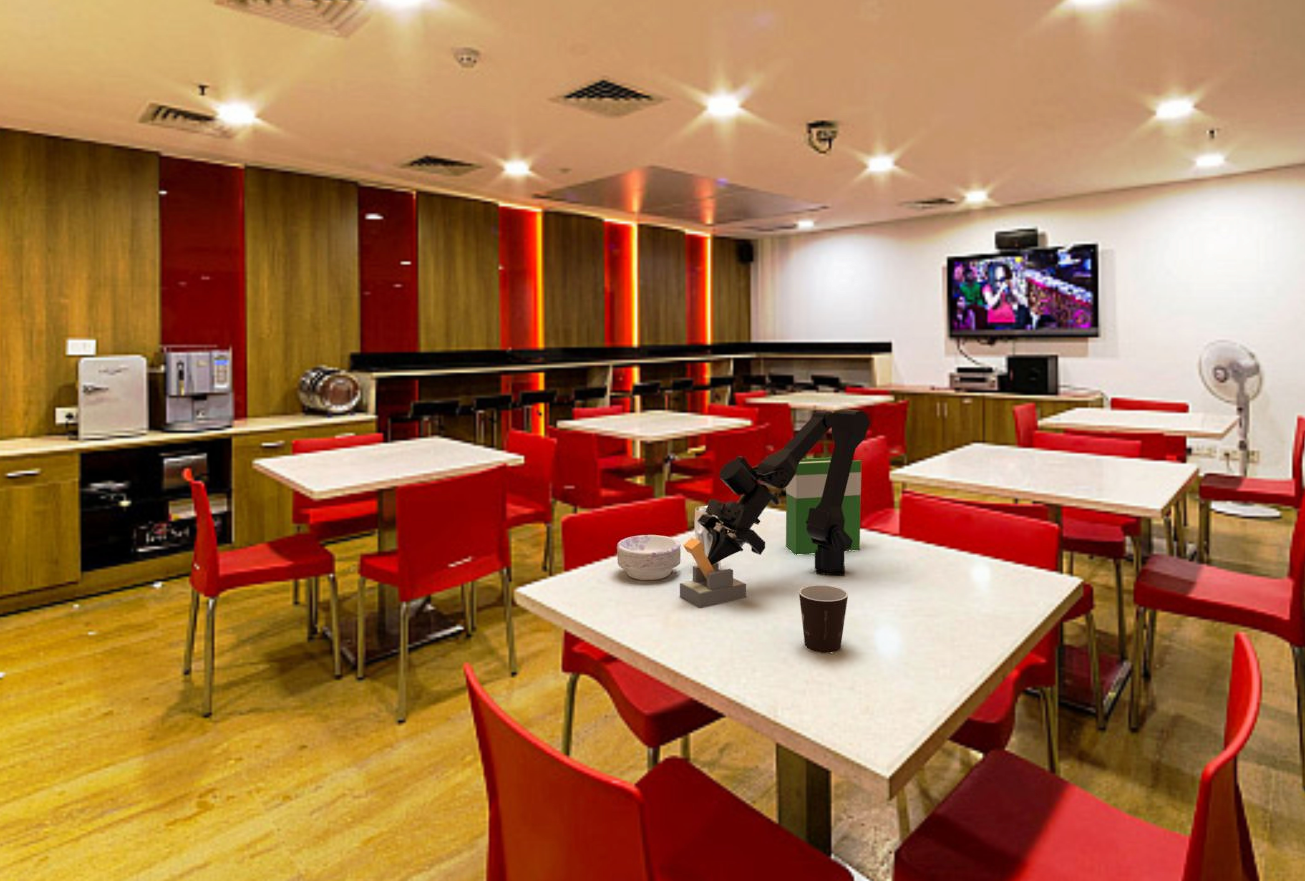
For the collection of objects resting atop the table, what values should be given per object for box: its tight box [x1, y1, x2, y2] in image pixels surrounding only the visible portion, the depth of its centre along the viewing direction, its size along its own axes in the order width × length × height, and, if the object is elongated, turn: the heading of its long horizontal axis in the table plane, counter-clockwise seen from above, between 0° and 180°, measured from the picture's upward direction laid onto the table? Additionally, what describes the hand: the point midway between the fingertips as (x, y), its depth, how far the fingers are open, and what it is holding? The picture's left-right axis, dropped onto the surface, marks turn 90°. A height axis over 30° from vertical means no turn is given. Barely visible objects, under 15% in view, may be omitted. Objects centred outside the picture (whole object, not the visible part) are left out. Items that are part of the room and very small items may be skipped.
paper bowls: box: [616, 534, 682, 581], centre depth 175 cm, size 15×15×8 cm
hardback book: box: [785, 456, 862, 556], centre depth 192 cm, size 18×7×24 cm, turn 99°
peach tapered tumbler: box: [694, 505, 723, 571], centre depth 178 cm, size 7×7×15 cm
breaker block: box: [679, 563, 747, 609], centre depth 158 cm, size 12×8×6 cm, turn 119°
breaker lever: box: [683, 537, 715, 580], centre depth 156 cm, size 3×4×11 cm
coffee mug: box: [798, 584, 849, 654], centre depth 130 cm, size 12×9×10 cm
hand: (708, 564), depth 157 cm, fingers closed, pressing on breaker lever
